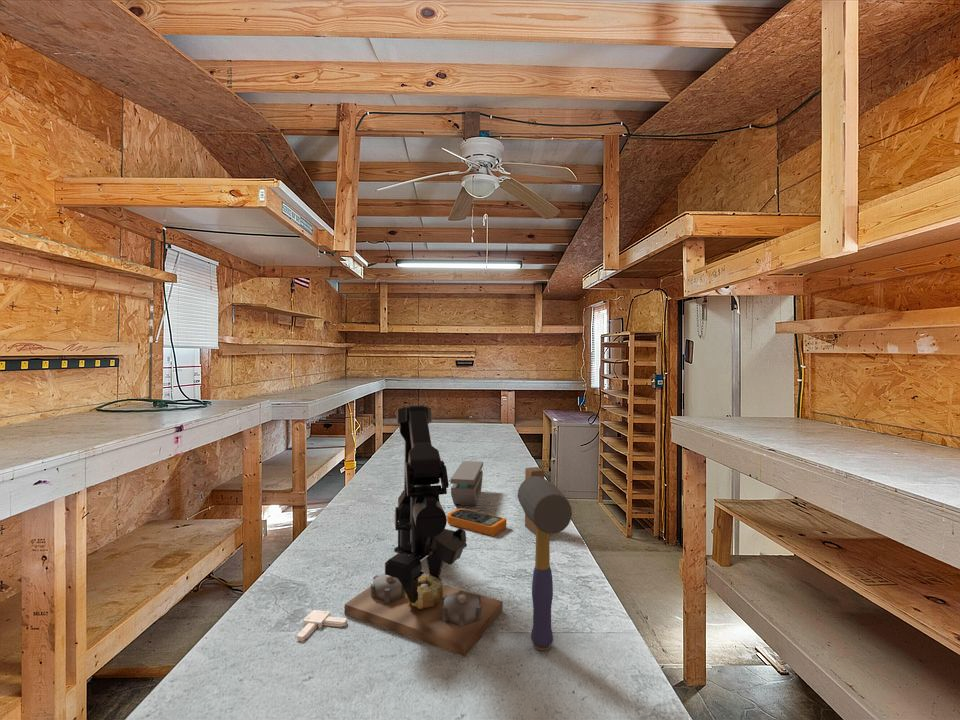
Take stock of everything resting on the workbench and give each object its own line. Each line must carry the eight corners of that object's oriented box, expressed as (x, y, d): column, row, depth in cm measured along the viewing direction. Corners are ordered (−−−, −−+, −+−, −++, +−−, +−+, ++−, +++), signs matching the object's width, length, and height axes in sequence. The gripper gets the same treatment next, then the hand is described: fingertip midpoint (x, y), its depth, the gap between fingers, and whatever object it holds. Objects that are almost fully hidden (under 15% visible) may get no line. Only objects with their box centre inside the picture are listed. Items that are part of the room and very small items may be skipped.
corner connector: (330, 647, 83) (330, 638, 83) (290, 642, 84) (290, 633, 84) (350, 621, 91) (350, 613, 91) (313, 617, 92) (313, 609, 92)
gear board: (344, 613, 93) (344, 587, 92) (393, 578, 107) (393, 555, 107) (464, 657, 80) (465, 626, 80) (502, 610, 94) (502, 584, 94)
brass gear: (398, 602, 92) (398, 587, 92) (420, 585, 98) (420, 571, 98) (429, 612, 88) (429, 597, 88) (449, 593, 95) (449, 579, 95)
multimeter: (459, 516, 148) (459, 506, 148) (508, 528, 138) (508, 517, 138) (443, 525, 141) (443, 514, 141) (493, 538, 131) (493, 526, 131)
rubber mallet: (514, 627, 88) (515, 473, 88) (551, 624, 89) (552, 472, 89) (530, 672, 76) (532, 494, 75) (573, 668, 77) (575, 492, 77)
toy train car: (473, 512, 151) (473, 479, 151) (450, 511, 152) (450, 478, 152) (482, 489, 176) (483, 461, 175) (462, 488, 177) (463, 460, 177)
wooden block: (551, 535, 132) (552, 474, 132) (537, 537, 131) (538, 475, 131) (537, 524, 141) (538, 466, 141) (524, 526, 139) (524, 467, 139)
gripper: (432, 542, 81) (432, 629, 81) (480, 509, 97) (480, 581, 98) (383, 530, 86) (382, 612, 86) (436, 501, 103) (436, 570, 103)
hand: (424, 593), depth 93 cm, fingers closed on brass gear, 7 cm apart
